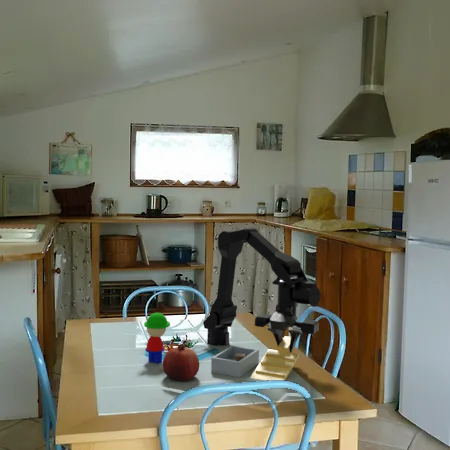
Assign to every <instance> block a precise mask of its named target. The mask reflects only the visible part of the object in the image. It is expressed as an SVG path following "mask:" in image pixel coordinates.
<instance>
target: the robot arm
mask: <svg viewBox="0 0 450 450" xmlns="http://www.w3.org/2000/svg"><path fill="white" fill-rule="evenodd" d="M245 243H246V244H248V245H249V246H250V247H251V248H253V250H255V251H256V252H257V253H258V254H259V255H260V256H262V258H264V259H265V261H267V262H268V264H269V265H270V268H271V270H272V272H273V273H274V275H276V279H274V280H273V281H272V282H271V283H272V285H277V304H276V305H275V310H274V312H273V314H267V313H261V314H259V315H257V316H256V317H255V319H254V326H255V327H258V328H264V327H266V325H268V327H267V331H268V332H271V334H273V337H274V340H275V342H276V346H277V347H278V346H279V344H280V343H281V341H282V339H283V335H284V334H283V332H285V331H287V330H288V328H292V330H291V331H290V332H289V334H290V337H291V340H290V353H293V351H294V348H295V347H296V343H297V342H298V339H299V337H300V335H302V334H309V335H314V334H316V333H317V332H318V331H319V330H320V323H319V322H318V321H317V320H314V319H313V320H311V319H305V320H303V321H302V322H301V321H297V320H298V316H297V308H298V306H299V305H304V306H309V307H312V308H313V307H316V306H318V305H319V304H320V301H321V296H322V295H321V294H322V293H321V291H320V289H319V287H318V286H317V284H318V283H317V282H309V280H308V277H307V276H306V274H305V271H304V270H303V268H302V266H301V265H302V264H301V262H300V261H299V260H298V259H297V258H295V257H293V256H292V255H290V254H287V253H284V252H282V251H280V250H279V248H277V247H276V246H274V245H273V244H272V243H271V242H270V241H269V240H268V239H267V238H265V236H263V235H262V234H261V233H260V232H259V231H258V229H257V228H255V227H249V228H247V227H245V228H243V229H240V230H237V229H235V230H233V229H232V230H223V231H221V232H220V233H219V234H218V237H217V249H218V252H219V254H220V256H221V257H220V258H221V260H220V267H219V268H220V269H219V276H218V284H217V285H218V287H217V292H216V299H215V300H214V301H213V303H212V305H211V307H210V312H209V315H208V316H207V317H206V318H205V320H203V328H204V329H207V341H206V342H207V343H206V345H207V344H208V345H211V346H221V347H222V346H223V347H224V346H225V347H226V346H229V345H231V343H230V332H229V327H233V323H234V320H235V319H236V318H237V310H238V306H237V304H236V305H235V304H234V302H233V299H232V298H233V290H234V282H235V274H236V263H237V260H238V259H237V258H238V257H239V255H240V254H241V252H242V250H243V247H244V244H245Z"/></svg>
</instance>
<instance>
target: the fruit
mask: <svg viewBox="0 0 450 450" xmlns="http://www.w3.org/2000/svg"><path fill="white" fill-rule="evenodd" d="M162 369H163V372H164V374H165V375H166V376H167V377H168V378H170V379H171V380H175V381H179V382H186V381H189V380H192V379H194V377H196V375H197V374H198V372H199V370H200V359H199V357H198V355H197V353H196V351H194V350H193V349H190V348H189V347H186V345H185V344H184V343H179V344H178V345H177V347H174V348H170V349H169V350H167V352H166V353H165V354H164V357H163V358H162Z"/></svg>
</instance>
